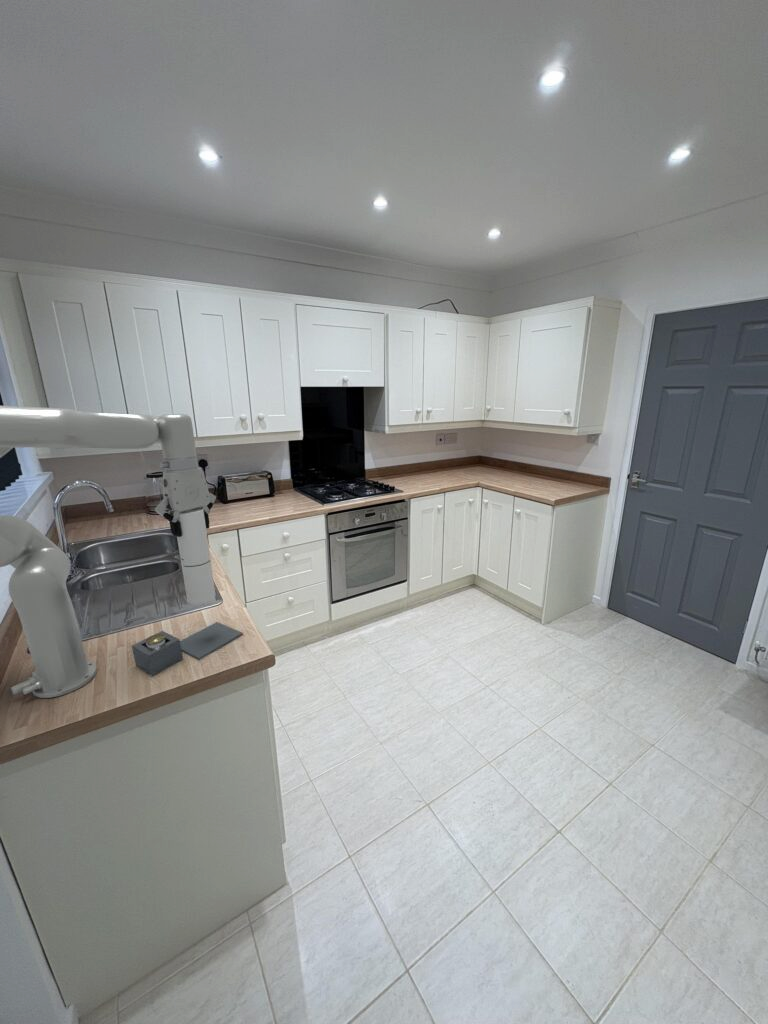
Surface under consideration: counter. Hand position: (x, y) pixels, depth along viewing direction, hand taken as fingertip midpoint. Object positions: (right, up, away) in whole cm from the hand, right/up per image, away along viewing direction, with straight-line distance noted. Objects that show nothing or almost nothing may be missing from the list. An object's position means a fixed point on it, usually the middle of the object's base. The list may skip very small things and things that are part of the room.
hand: (191, 531), depth 106 cm
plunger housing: (-8, -34, -1) cm, 35 cm away
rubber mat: (+1, -31, +9) cm, 33 cm away
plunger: (-8, -33, -1) cm, 34 cm away
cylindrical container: (0, -19, +5) cm, 19 cm away
